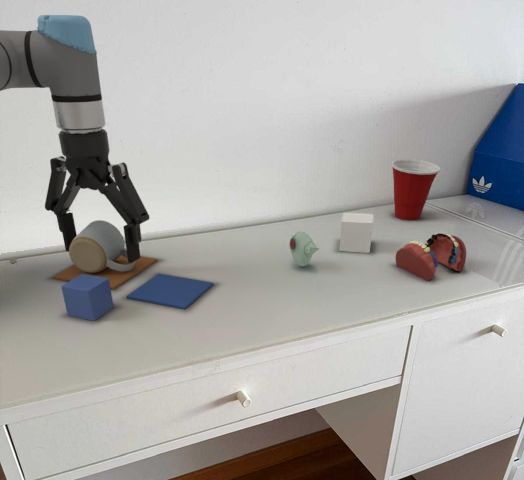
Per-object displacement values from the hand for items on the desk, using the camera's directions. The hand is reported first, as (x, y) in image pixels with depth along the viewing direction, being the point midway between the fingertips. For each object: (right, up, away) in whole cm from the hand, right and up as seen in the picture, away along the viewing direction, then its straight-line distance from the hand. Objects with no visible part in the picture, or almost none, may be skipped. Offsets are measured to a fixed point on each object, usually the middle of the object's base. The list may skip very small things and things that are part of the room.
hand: (102, 254), depth 94 cm
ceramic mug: (0, -2, +1) cm, 3 cm away
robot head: (+36, -2, +2) cm, 36 cm away
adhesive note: (+48, +3, +11) cm, 49 cm away
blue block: (+2, -11, -13) cm, 17 cm away
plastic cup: (+63, +14, +27) cm, 70 cm away
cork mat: (0, -2, +1) cm, 3 cm away
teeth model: (+60, -3, +1) cm, 60 cm away
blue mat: (+14, -7, -7) cm, 17 cm away
